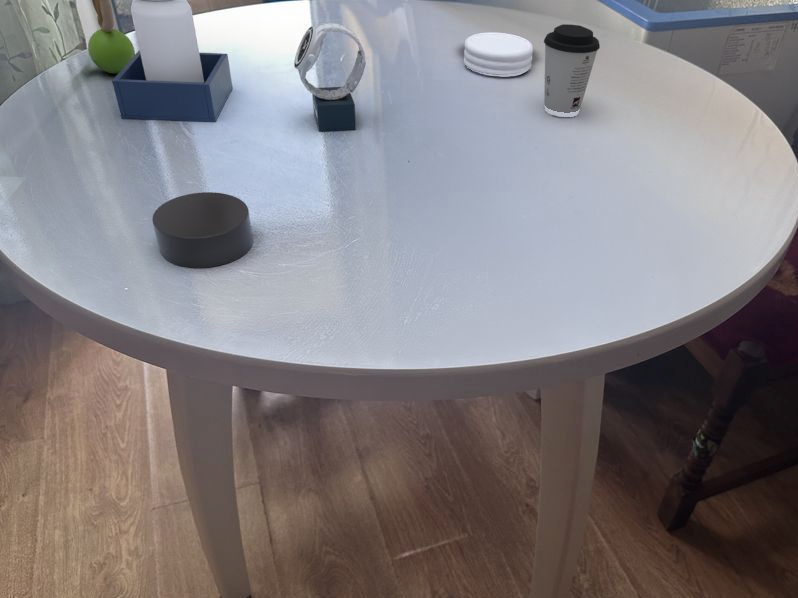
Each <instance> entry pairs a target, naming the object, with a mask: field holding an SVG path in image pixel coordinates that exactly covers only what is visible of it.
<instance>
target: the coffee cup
mask: <svg viewBox="0 0 798 598" xmlns="http://www.w3.org/2000/svg"><path fill="white" fill-rule="evenodd" d="M543 43H544V44H545V45H544V46H545V48H544V94H543V98H544V99H543V106H544V105H545V106H546V107H547V108H548V109H551V110H553V111H557V112H564V113H570V112H576V111H578V110H579V109H580V110H581V109H582V104H583V101H584V97H585V94H586V92H587V91H586V90H587V87H588V84H589V80H590V77H591V73H592V70H593V66H594V63H595V60H596V56H597V53H598V50H599V49H601V45H600V41H599V39H598V38H597V37H595V36H594V32H593V30H591V29H590V28H587V27H585V26H583V25H578V24H569V23H568V24H567V23H566V24H559V25H557V26H556V27H554V29H553V31H551V32H549V33H547V34H546V36H545V37H544V39H543Z"/></svg>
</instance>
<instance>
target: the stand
mask: <svg viewBox="0 0 798 598" xmlns="http://www.w3.org/2000/svg"><path fill="white" fill-rule="evenodd" d="M151 219H152V226H153V229H154V234H155V238H156V241H157V245H158V249H159V253H160V255H161V256H162V257H163V258H164V260H166V261H168V263H171V264H173V265H176V266H179V267H183V268H189V269H205V268H207V269H208V268H215V267H220V266H223V265H226V264H230V263H232V262H234V261H236V260H238V259H241V257H243V256H245V255H246V254H247V253H248V252H249V251H250V249H251V247H252V246H253V243H254V237H253V230H252V222H251V217H250V210H249V207H248V205H247V204H246V203H245V201H243V199H240V198H239V197H237V196H234V195H231V194H229V193H223V192H213V191H211V192H210V191H207V192H206V191H205V192H202V191H201V192H194V193H188V194H183V195H179V196H176V197H174V198H171V199H169V200H168V201H166V202H164V203H162V204H161V205H159V206H158V207H157V209H156V210H155V211H154V212H153V213H152V218H151Z"/></svg>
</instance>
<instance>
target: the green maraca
mask: <svg viewBox="0 0 798 598" xmlns="http://www.w3.org/2000/svg"><path fill="white" fill-rule="evenodd" d="M91 3H92V5H93V8H94V10H95V13H96V15H97V16H96V19H97V24H98V26H99V28H100V29H97V30H96V31H94V32H93V34H92V35H91V36H90V38H89V40H88V43H87V46H88V47H87V49H88V51H87V52H88V55H89V57H90V59H91V61H92V62H93V64H94V65H95V66H96V67H97V68H99V69H100V70H102V71H103V72H105V73H108V74H115V75H118V73H119V72H120V71H121V70H122V69H123V68H124V67H125V66H126V64H127V63H128V62H129V61H130V60H131V59H132V58H133V57H134V55H135V54H136V51H135V46H134V45H133V42H132V40H131V39H130V38H129V37H128V36H127V34H125V33H124V32H122V31H120V30H118V29H115V28H114V27H115V22H114V13H113V8H112V5H111V1H110V0H91Z"/></svg>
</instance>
